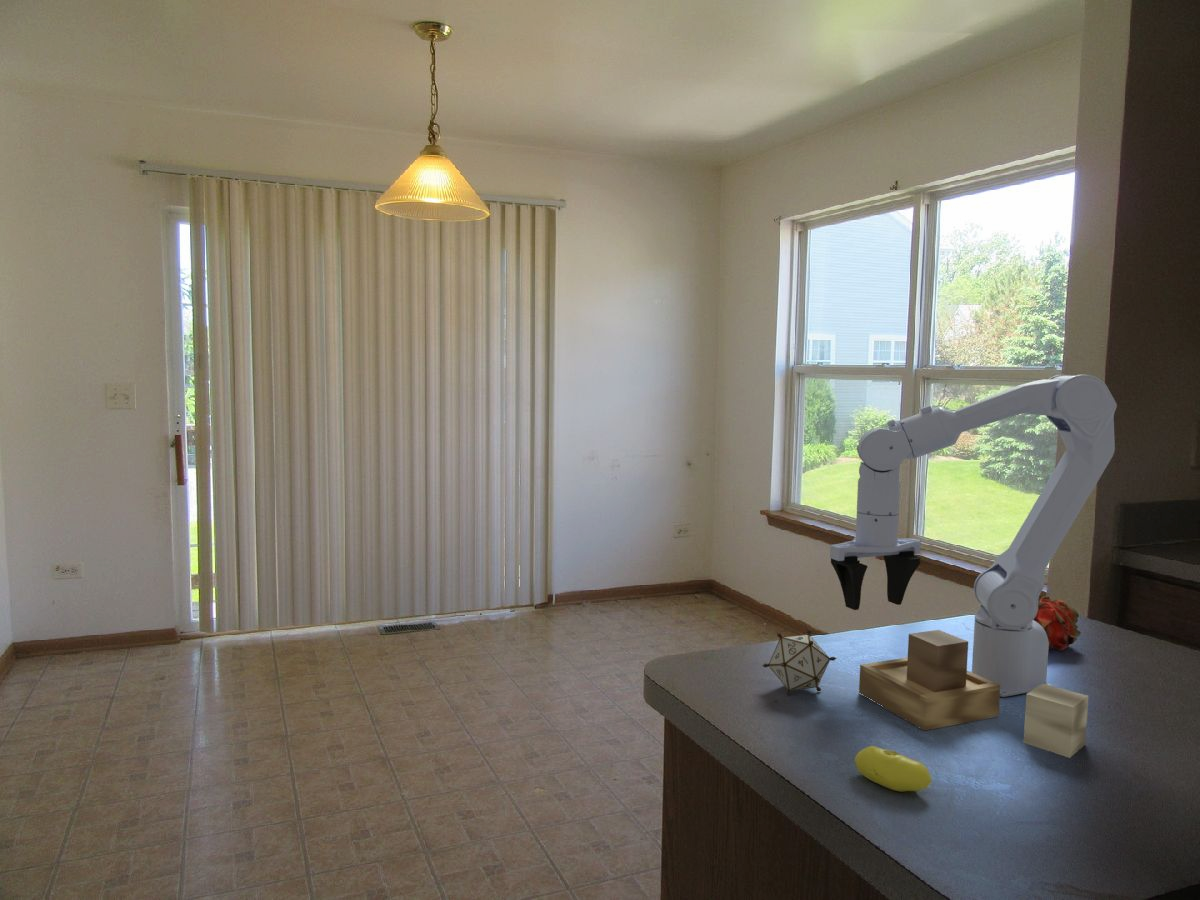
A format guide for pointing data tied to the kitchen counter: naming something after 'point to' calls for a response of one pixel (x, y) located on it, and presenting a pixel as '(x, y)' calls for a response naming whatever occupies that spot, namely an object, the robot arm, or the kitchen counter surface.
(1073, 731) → the maple cube
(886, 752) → the yellow oval lump
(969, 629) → the kitchen counter surface
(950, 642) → the walnut cube
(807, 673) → the game die
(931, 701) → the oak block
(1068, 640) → the dragon fruit
